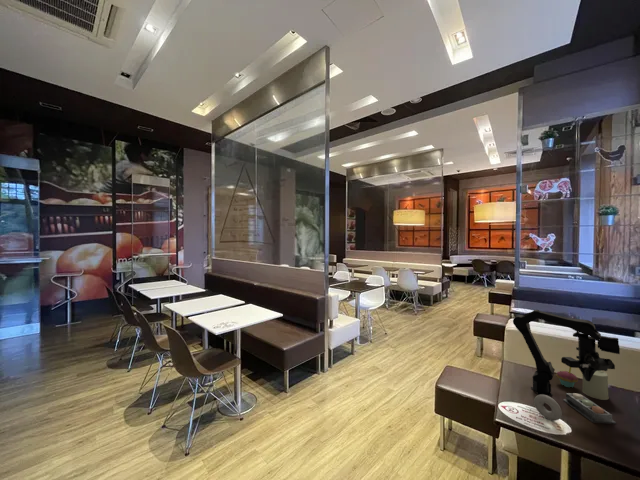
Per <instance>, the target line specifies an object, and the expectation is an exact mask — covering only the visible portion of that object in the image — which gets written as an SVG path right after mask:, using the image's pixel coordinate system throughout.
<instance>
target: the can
mask: <svg viewBox="0 0 640 480" xmlns="http://www.w3.org/2000/svg"><path fill="white" fill-rule="evenodd" d="M581 374H582V373H581ZM608 379H609V375H608V373H607V372H606V371H596V372H595V373H594V374H593V376H592V378H591V380H590V381H586V379H585V378H584V376H583V374H582V393H583V394H585V396H588V397H591V398H592V399H593V398H594V399H597V400H602V401H607V400H609V398H610V397H609V381H608Z"/></svg>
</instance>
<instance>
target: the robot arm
mask: <svg viewBox="0 0 640 480" xmlns="http://www.w3.org/2000/svg"><path fill="white" fill-rule="evenodd" d="M536 320H541V321H545V322H549V323H552V324H557V325H559V326H564V327H566V328H569V329H571V330H573V331H575V332H574V333H572V337H575V338H577V339H578V342H577V343H578V346H577V347H576V351H578V355H576V357H575V358H573V357H572V356H562V357H561V360H560V361H561V363H562V364H564V365H565V366H567V367H569V368H570V367H571V369H572V368H574V369H576V368H577V369H579V370H580V372H581V374H583V375H582V377H583V376H584V378H585V379H586V381H590V380H591V378H592V376H593V374H594V373H595V372H596V371H603V372H607V371H608V370H615V369H616V365H615V364H614V362H613V360H611V359H610V358H604V357H600V354H599V352H598V351H597V349H596V341H597V348H598V349H599V350H601V352H604V353H605V352H606V353H611V354H614V355H615V354H616V355H620V353H621V351H620V350H621V349H620V344H619V338H618V337H611V336H610V337H609V336H605V335H604V336H603V335H601V333H600V332H599V331H598V330H597V329H596V326H595V323H593V321H590V320H588V319H581V318H571V317H565V316H561V315H557V314H554V313H553V314H552V313H550V312H545V311H542V310H539V309H534V310H532V311H530V312H527V313H525V314H517V315H516V316H515V317H514V318H513V320H512V323H513V325H514V327H515V328H516V330H517V331H518V332H519V333H520V334H521V335H522V338H523V340H524V341H525V344H526V345H527V348H528V349H529V352H530V354H531V356H532V357H533V360H534V362H535V369H536V371H534V374H533V375H532V386H530V389H531V390H533V391H534V392H535V393H537V395H540V394H541V395H547V396H553V395H554V394H553V393H552V383H551V381H552V380H553V378H554V376H555V370H556V369H555V368H554V366H553V363H552V362H551V361H547V360H546V359H545V358H544V355H543V354H542V351H541V349H540V347H539V345H538V343H537V341H536V340H535V337H534V335H533V333H532V331H531V325H530V323H531V322H533V321H536Z"/></svg>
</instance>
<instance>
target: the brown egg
mask: <svg viewBox="0 0 640 480" xmlns="http://www.w3.org/2000/svg"><path fill="white" fill-rule="evenodd" d="M603 409H604V408H603V407H601V408H600V406H599V407H597V406H592V410H593V411H594V412H596V413H604V410H605V409H604V410H603Z"/></svg>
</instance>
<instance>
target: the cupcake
mask: <svg viewBox="0 0 640 480" xmlns="http://www.w3.org/2000/svg"><path fill="white" fill-rule="evenodd" d="M555 376H556V377H557V378H558V379H559V381H560V384H561V385H562V386H563V385H564V386H563V387H566V388H570V387H572V388H574V386H575V384H576V383H578V381H579V379H578V377H577V376H576V375H575V374H574V373H573V372H572V367H569V370H568V371H567V370H559V371H557V372H556V375H555Z"/></svg>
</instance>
